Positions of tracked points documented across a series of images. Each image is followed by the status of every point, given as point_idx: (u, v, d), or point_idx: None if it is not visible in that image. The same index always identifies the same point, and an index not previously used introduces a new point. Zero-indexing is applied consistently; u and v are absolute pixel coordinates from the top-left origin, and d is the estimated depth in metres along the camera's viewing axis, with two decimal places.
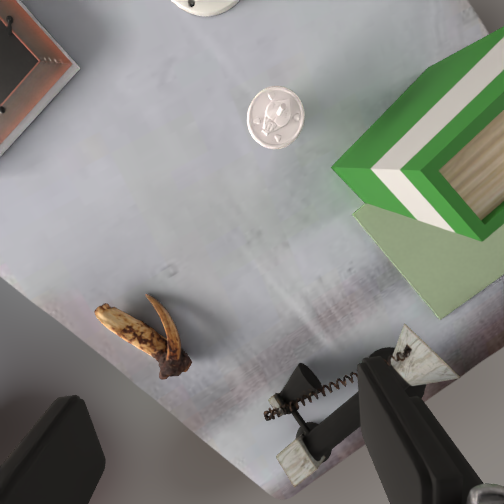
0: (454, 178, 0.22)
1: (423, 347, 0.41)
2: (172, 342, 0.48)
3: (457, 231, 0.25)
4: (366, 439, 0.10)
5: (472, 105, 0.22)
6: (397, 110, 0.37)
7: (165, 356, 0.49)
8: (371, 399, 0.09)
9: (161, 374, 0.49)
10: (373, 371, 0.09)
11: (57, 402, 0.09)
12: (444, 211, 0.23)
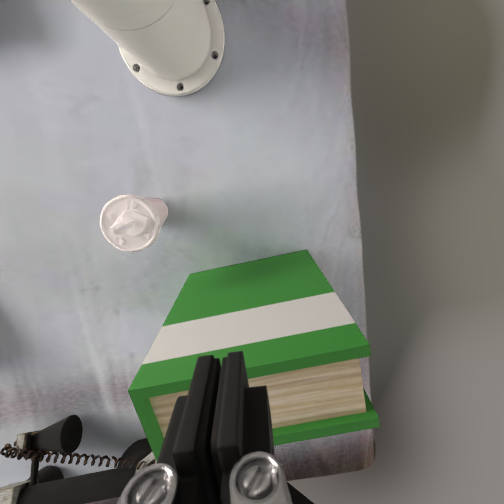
0: (162, 406, 0.23)
1: None
2: None
3: None
4: None
5: None
6: (251, 273, 0.40)
7: None
8: None
9: None
10: (227, 363, 0.10)
11: (201, 359, 0.10)
12: None
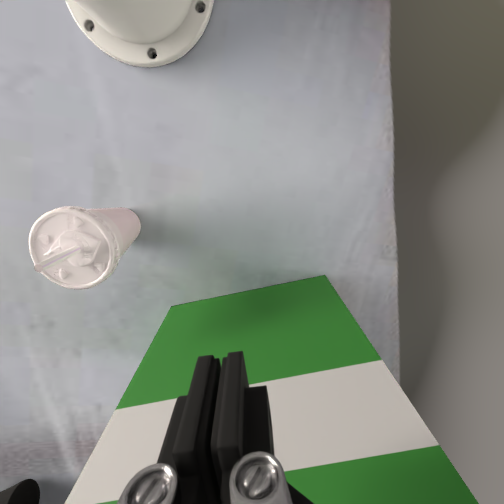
0: None
1: None
2: None
3: None
4: None
5: None
6: (251, 311, 0.29)
7: None
8: None
9: None
10: (227, 363, 0.10)
11: (201, 359, 0.10)
12: None
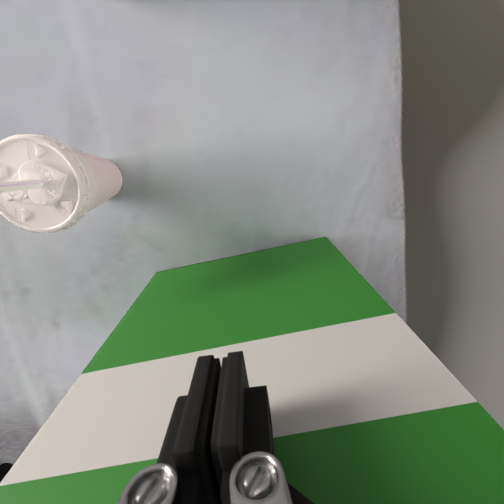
0: None
1: None
2: None
3: None
4: None
5: None
6: (244, 273, 0.26)
7: None
8: None
9: None
10: (227, 363, 0.10)
11: (201, 359, 0.10)
12: None
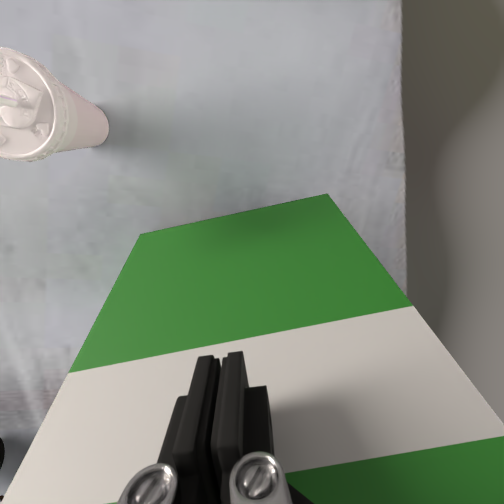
0: None
1: None
2: None
3: None
4: None
5: None
6: (239, 240, 0.23)
7: None
8: None
9: None
10: (227, 363, 0.10)
11: (201, 359, 0.10)
12: None
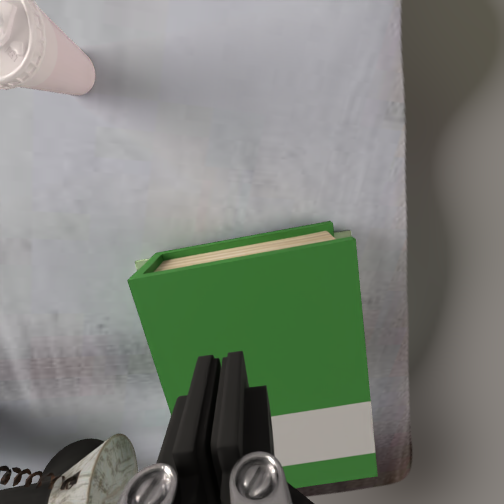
0: None
1: (83, 492, 0.26)
2: None
3: None
4: None
5: None
6: (257, 318, 0.24)
7: None
8: None
9: None
10: (227, 363, 0.10)
11: (201, 359, 0.10)
12: None
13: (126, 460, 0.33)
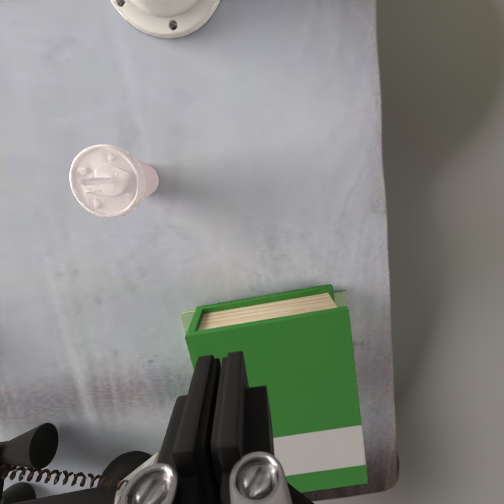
0: None
1: None
2: None
3: None
4: None
5: None
6: (277, 363, 0.33)
7: None
8: None
9: None
10: (227, 363, 0.10)
11: (201, 359, 0.10)
12: None
13: None
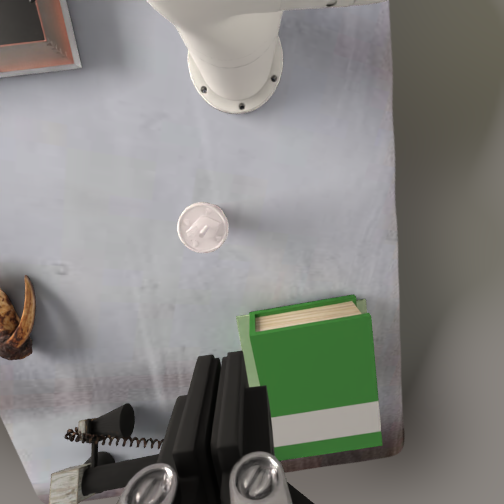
0: None
1: None
2: (21, 330, 0.48)
3: None
4: None
5: (311, 445, 0.50)
6: (317, 355, 0.45)
7: (7, 338, 0.49)
8: None
9: None
10: (227, 363, 0.10)
11: (201, 359, 0.10)
12: None
13: None
